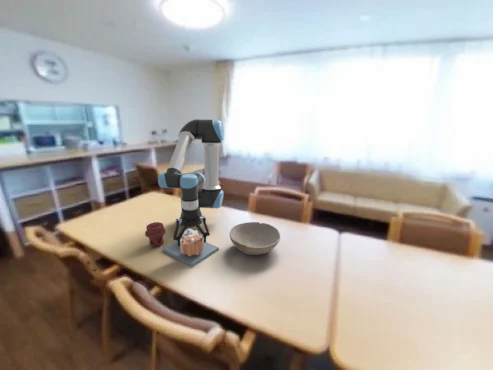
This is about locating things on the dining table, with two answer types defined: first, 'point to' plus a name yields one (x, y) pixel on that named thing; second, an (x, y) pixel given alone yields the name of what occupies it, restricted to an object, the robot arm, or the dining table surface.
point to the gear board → (192, 259)
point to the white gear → (191, 234)
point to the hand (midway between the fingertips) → (192, 249)
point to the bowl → (254, 237)
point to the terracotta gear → (192, 245)
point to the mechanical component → (155, 233)
